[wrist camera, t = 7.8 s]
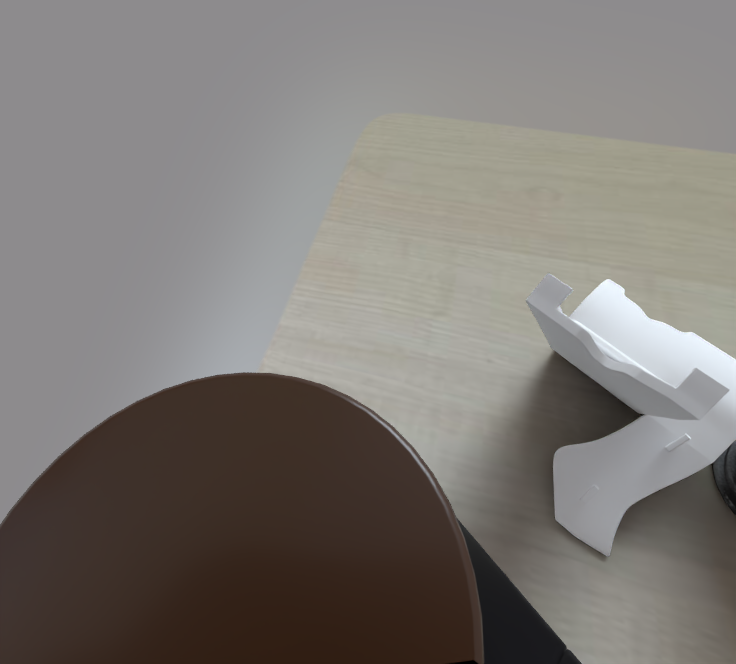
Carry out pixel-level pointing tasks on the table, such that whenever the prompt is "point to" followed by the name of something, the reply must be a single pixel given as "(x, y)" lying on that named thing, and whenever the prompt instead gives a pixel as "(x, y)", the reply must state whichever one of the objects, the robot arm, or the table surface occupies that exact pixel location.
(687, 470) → the plastic part
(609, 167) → the table surface
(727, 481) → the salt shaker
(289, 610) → the brown and grey cylinder
